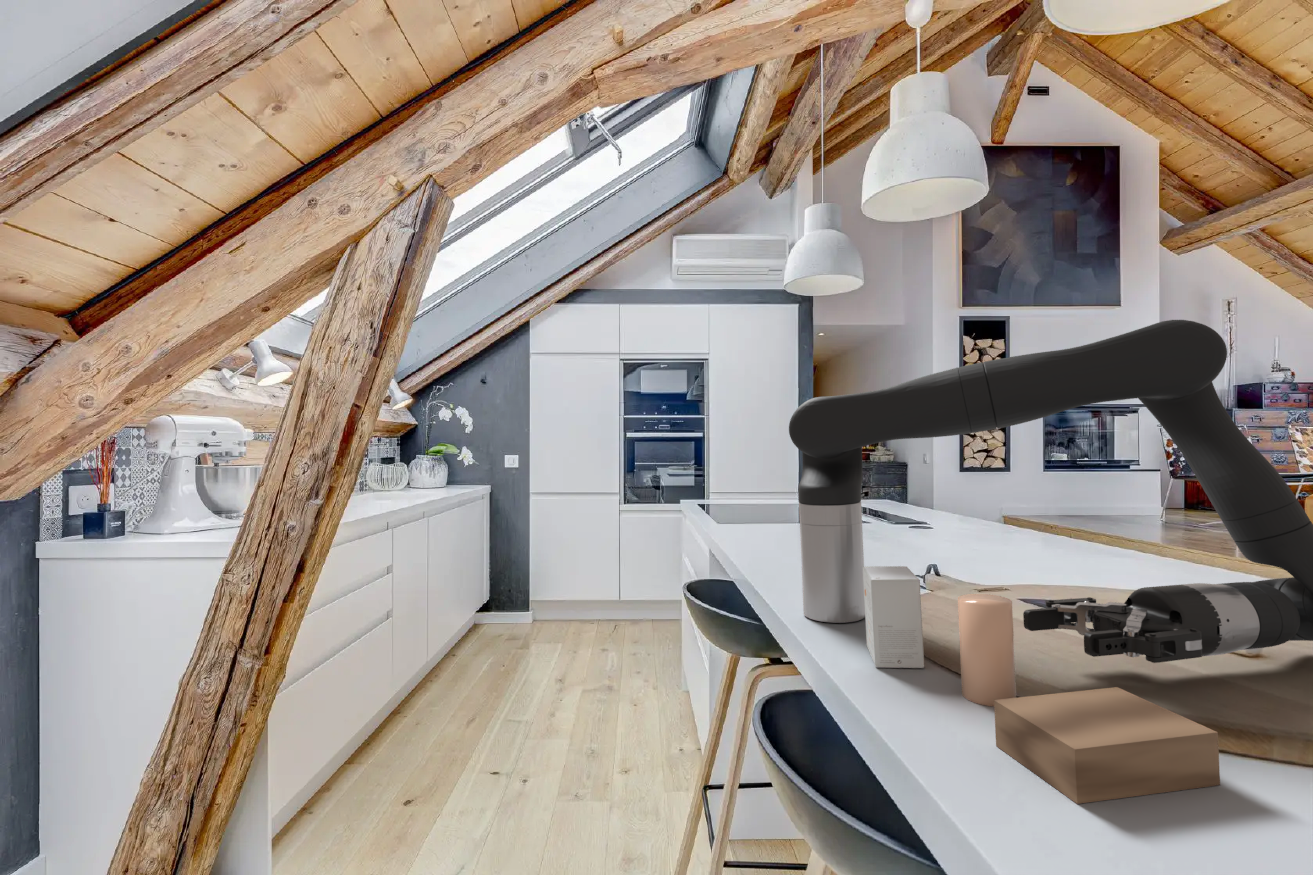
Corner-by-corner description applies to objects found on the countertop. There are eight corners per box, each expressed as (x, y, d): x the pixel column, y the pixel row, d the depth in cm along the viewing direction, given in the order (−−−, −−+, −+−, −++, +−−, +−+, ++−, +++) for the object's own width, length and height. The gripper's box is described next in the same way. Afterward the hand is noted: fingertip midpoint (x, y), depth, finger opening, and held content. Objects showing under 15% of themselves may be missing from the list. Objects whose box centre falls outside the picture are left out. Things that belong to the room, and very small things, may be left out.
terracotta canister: (951, 689, 68) (947, 595, 68) (995, 684, 69) (991, 592, 69) (981, 708, 63) (977, 607, 63) (1028, 703, 64) (1023, 603, 64)
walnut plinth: (996, 745, 56) (993, 699, 56) (1118, 731, 57) (1116, 686, 57) (1077, 803, 47) (1074, 749, 47) (1220, 784, 48) (1217, 732, 48)
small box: (925, 670, 74) (921, 579, 74) (874, 668, 75) (870, 579, 75) (911, 647, 82) (908, 565, 82) (866, 646, 83) (862, 565, 83)
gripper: (1131, 571, 76) (1006, 581, 74) (1258, 601, 62) (1109, 614, 60) (1133, 634, 76) (1009, 646, 74) (1261, 678, 62) (1113, 694, 60)
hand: (1054, 631), depth 67 cm, fingers open, 8 cm apart
